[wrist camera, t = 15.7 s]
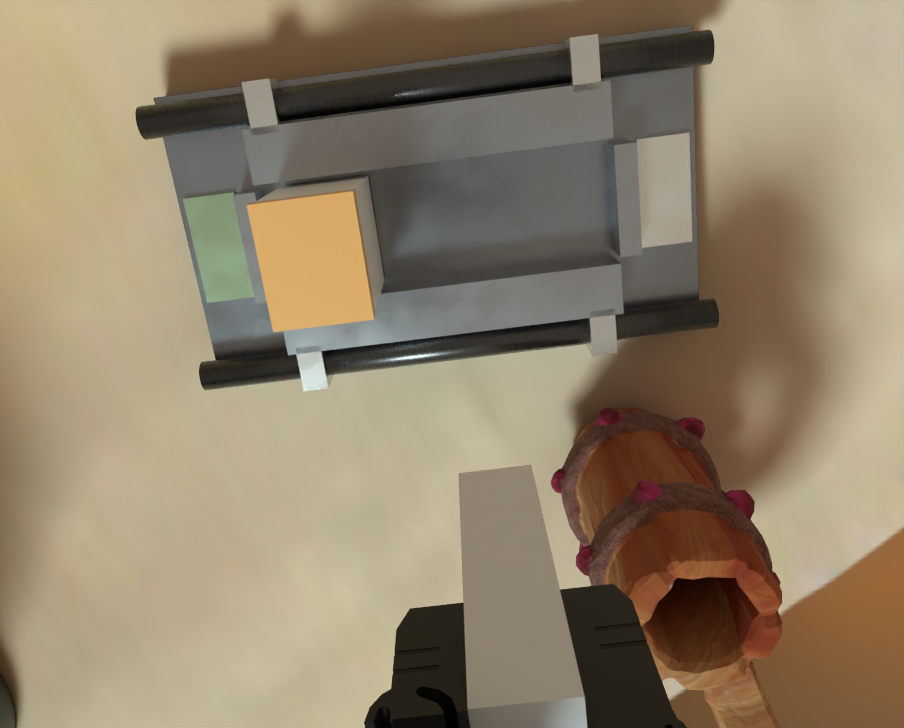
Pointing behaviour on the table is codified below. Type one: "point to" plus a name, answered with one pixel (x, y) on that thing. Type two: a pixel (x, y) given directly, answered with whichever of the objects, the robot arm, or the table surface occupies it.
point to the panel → (457, 201)
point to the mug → (676, 554)
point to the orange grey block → (318, 253)
